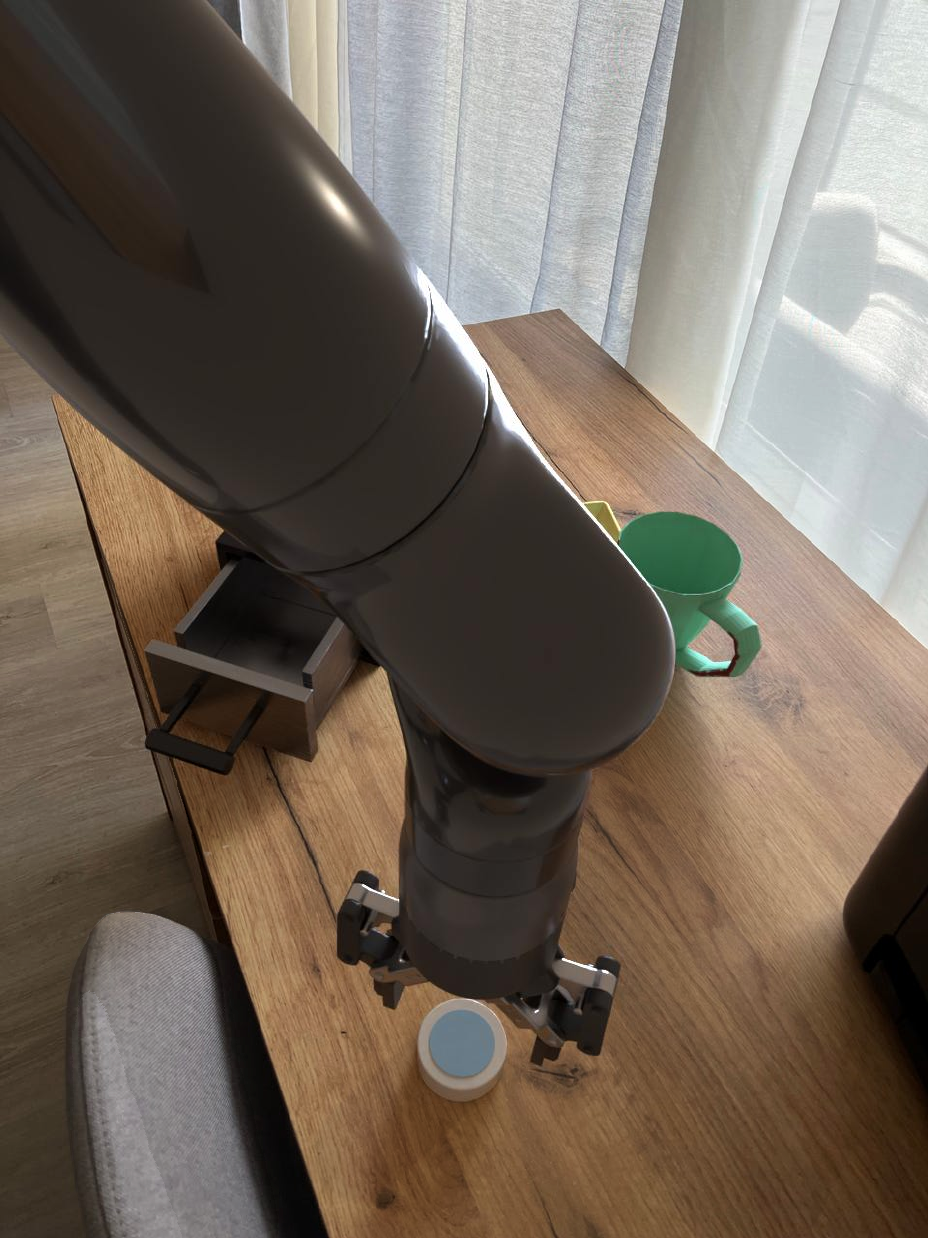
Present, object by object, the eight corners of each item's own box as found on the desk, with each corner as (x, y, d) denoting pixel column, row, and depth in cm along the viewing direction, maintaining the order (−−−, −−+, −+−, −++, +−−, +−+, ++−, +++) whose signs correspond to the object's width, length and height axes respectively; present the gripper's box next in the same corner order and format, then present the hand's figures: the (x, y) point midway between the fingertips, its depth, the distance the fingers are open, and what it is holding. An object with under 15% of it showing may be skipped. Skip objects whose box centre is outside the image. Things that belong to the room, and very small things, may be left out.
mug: (574, 619, 82) (591, 531, 75) (664, 585, 86) (689, 497, 79) (679, 742, 74) (710, 656, 67) (775, 698, 77) (814, 612, 70)
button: (464, 1122, 54) (466, 1110, 53) (398, 1058, 56) (398, 1045, 55) (521, 1052, 57) (525, 1039, 56) (456, 994, 59) (458, 980, 58)
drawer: (274, 827, 66) (264, 767, 61) (116, 771, 68) (94, 709, 63) (386, 633, 79) (386, 570, 74) (251, 592, 81) (241, 529, 76)
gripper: (297, 895, 40) (321, 1038, 52) (626, 1014, 38) (573, 1138, 49) (368, 758, 45) (376, 918, 57) (663, 855, 42) (607, 1002, 54)
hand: (467, 1019), depth 53 cm, fingers open, 8 cm apart
